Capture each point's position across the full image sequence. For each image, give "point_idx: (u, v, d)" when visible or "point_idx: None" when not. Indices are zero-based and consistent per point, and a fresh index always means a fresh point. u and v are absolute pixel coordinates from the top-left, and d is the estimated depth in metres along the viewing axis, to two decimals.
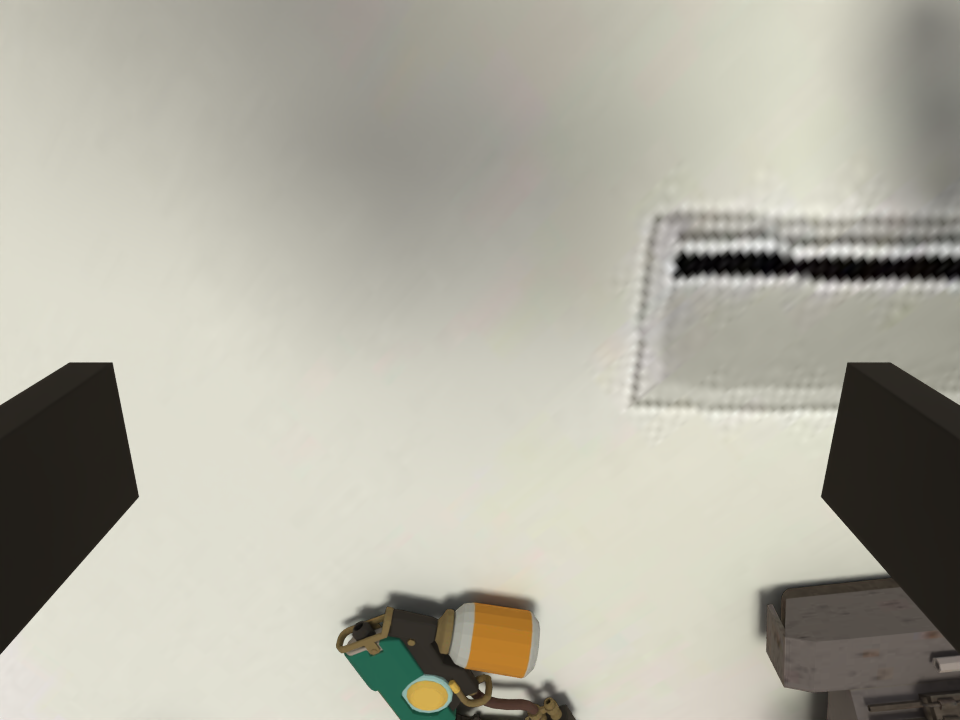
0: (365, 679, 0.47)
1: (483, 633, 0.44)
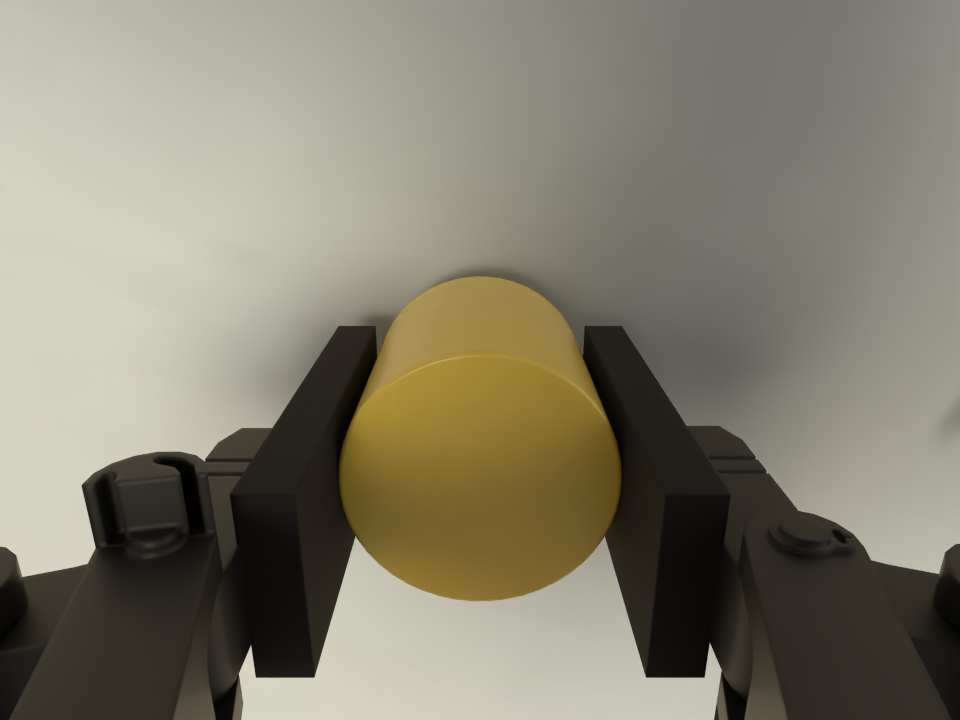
0: None
1: None
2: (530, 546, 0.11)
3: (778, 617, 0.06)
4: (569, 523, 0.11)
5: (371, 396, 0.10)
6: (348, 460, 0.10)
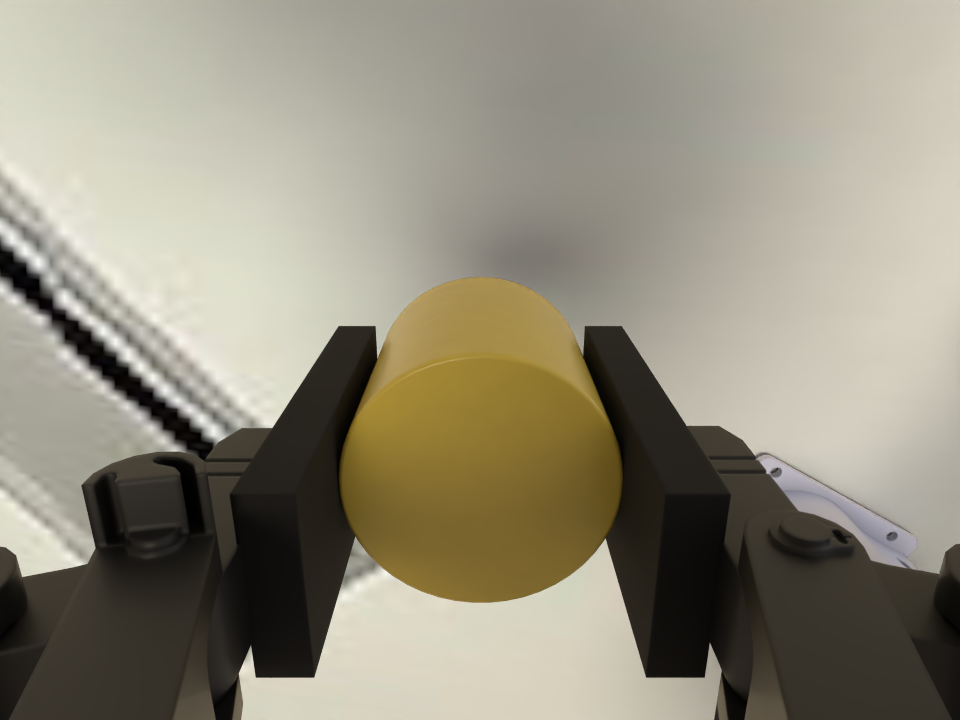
0: None
1: None
2: (532, 548, 0.11)
3: (778, 617, 0.06)
4: (570, 525, 0.10)
5: (372, 398, 0.10)
6: (349, 462, 0.10)
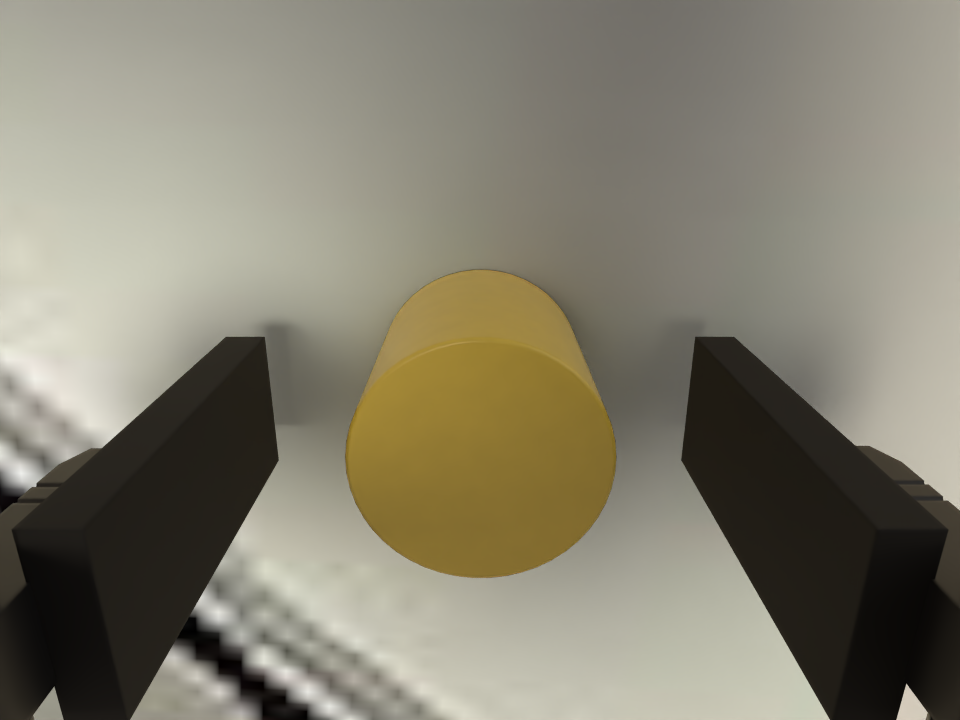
0: None
1: None
2: (528, 524, 0.11)
3: None
4: (565, 502, 0.11)
5: (377, 380, 0.10)
6: (355, 441, 0.11)
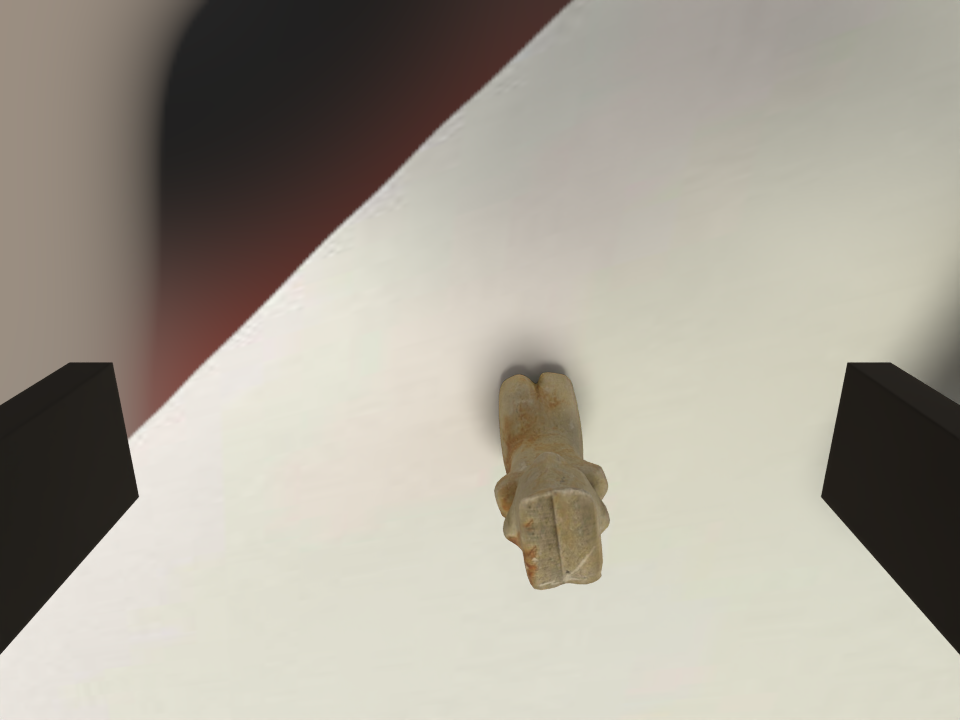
0: None
1: None
2: None
3: None
4: None
5: None
6: None
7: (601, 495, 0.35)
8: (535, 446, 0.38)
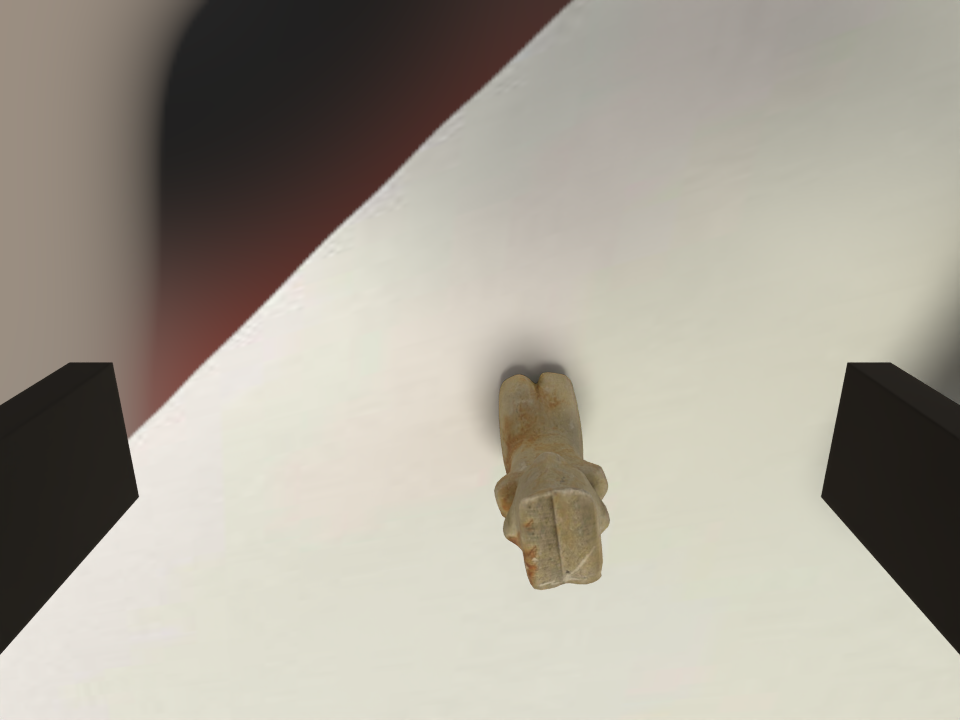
0: None
1: None
2: None
3: None
4: None
5: None
6: None
7: (601, 495, 0.35)
8: (535, 446, 0.38)
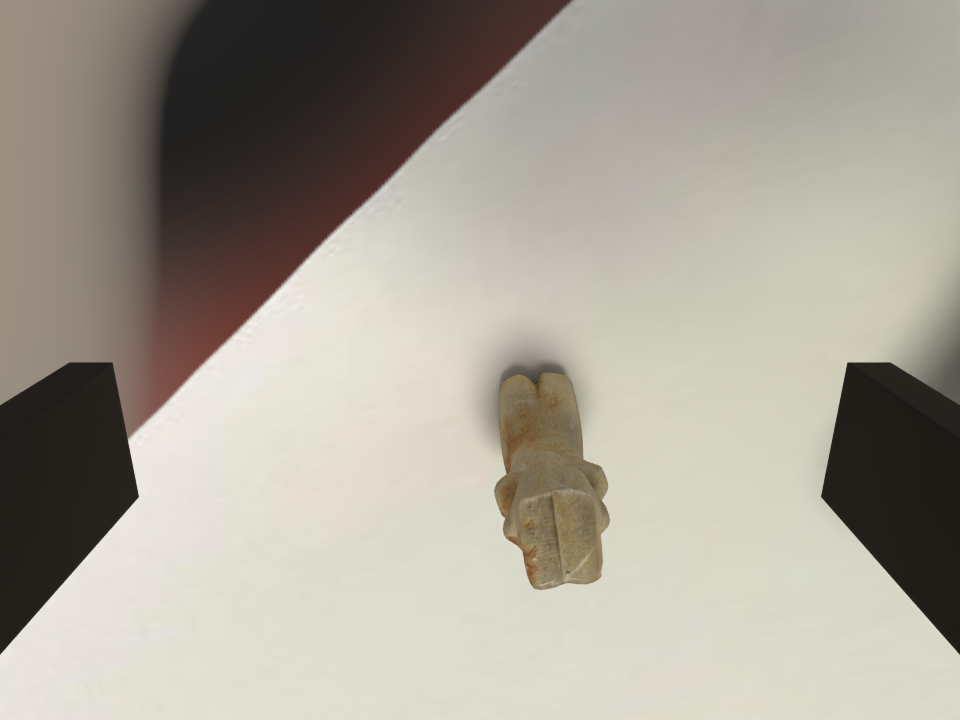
0: None
1: None
2: None
3: None
4: None
5: None
6: None
7: (601, 495, 0.35)
8: (535, 446, 0.38)
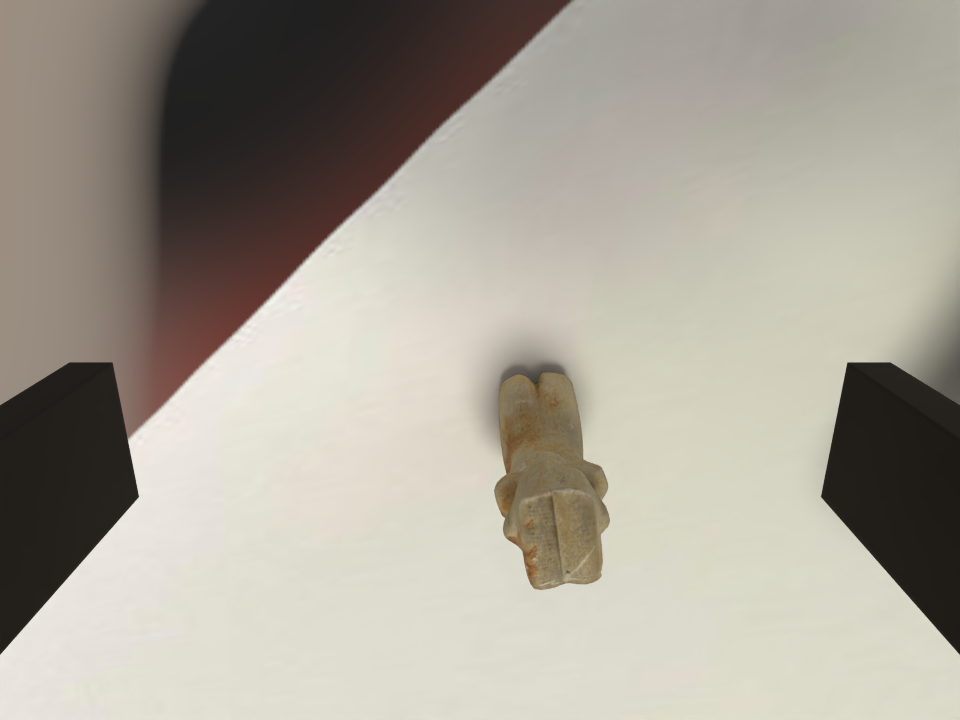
0: None
1: None
2: None
3: None
4: None
5: None
6: None
7: (601, 495, 0.35)
8: (535, 446, 0.38)
